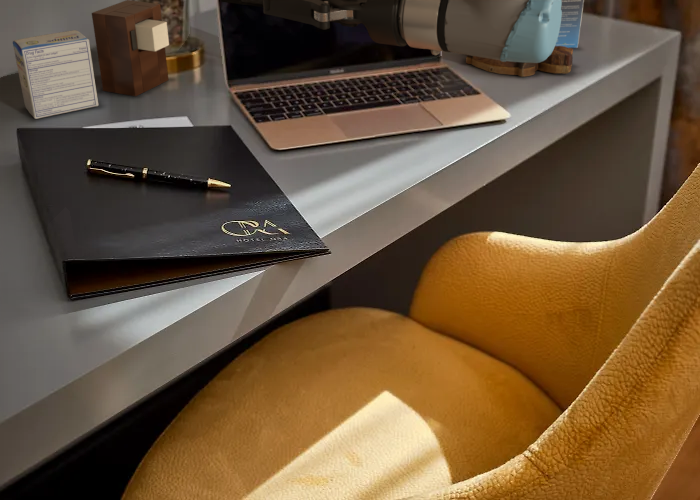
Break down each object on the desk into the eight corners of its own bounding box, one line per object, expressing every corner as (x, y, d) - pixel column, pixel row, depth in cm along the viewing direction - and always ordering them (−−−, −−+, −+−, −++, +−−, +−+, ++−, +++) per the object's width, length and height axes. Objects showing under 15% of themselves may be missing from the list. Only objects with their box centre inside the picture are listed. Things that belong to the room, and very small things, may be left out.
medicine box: (88, 97, 115) (77, 28, 111) (99, 107, 112) (89, 37, 108) (24, 109, 111) (11, 39, 107) (34, 120, 108) (21, 48, 104)
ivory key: (169, 45, 115) (166, 21, 114) (155, 51, 113) (152, 27, 112) (150, 42, 117) (147, 19, 115) (135, 48, 114) (132, 24, 113)
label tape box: (571, 41, 134) (580, -46, 128) (579, 49, 130) (589, -40, 124) (511, 42, 133) (518, -45, 127) (517, 51, 129) (525, -38, 123)
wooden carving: (588, 35, 122) (552, 45, 115) (585, 70, 124) (549, 81, 117) (483, 25, 132) (443, 33, 125) (481, 57, 134) (442, 67, 127)
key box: (170, 80, 120) (161, 4, 116) (136, 96, 115) (126, 17, 110) (136, 74, 123) (127, -1, 118) (102, 90, 117) (91, 12, 112)
